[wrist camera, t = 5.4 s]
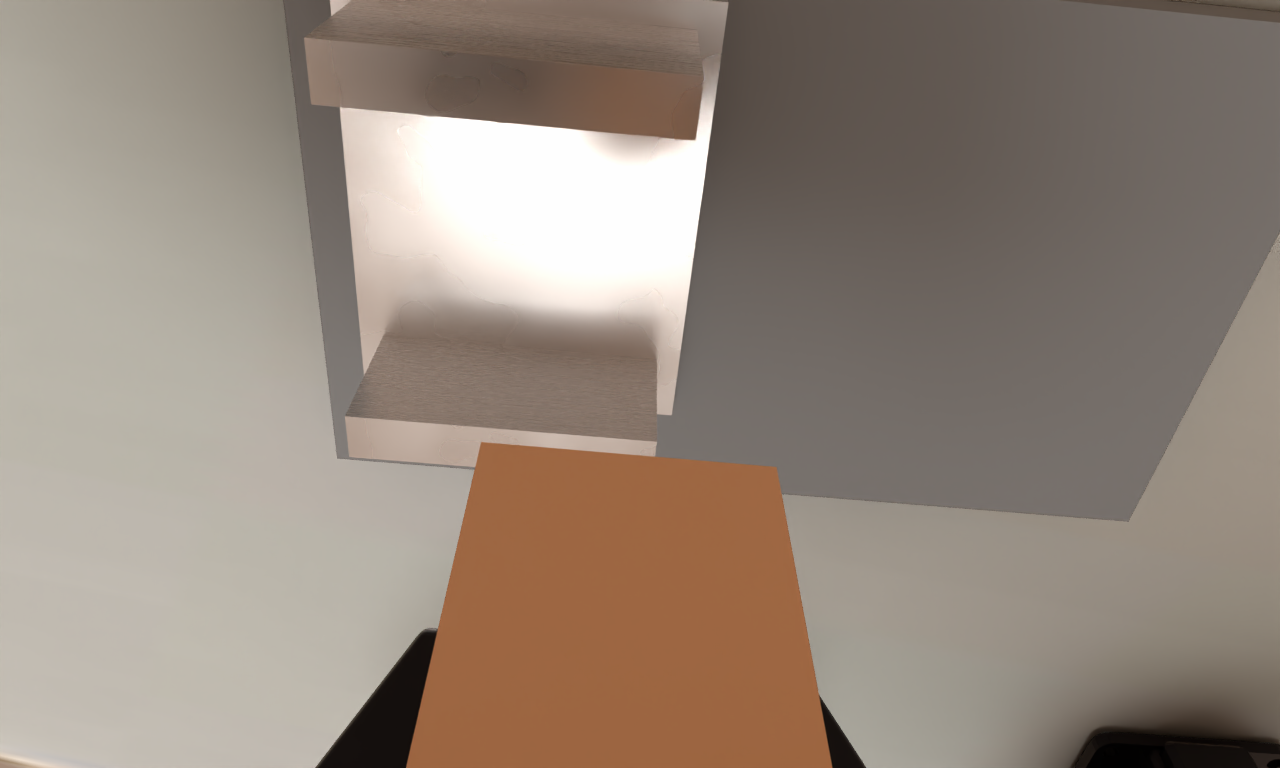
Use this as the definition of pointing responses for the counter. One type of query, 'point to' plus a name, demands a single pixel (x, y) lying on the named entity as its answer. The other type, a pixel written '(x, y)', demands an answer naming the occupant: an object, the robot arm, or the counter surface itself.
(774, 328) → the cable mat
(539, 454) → the orange rectangular block
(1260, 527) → the counter surface
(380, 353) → the end holder
